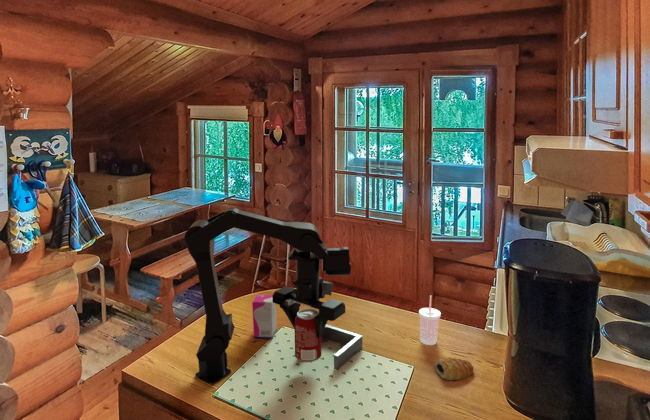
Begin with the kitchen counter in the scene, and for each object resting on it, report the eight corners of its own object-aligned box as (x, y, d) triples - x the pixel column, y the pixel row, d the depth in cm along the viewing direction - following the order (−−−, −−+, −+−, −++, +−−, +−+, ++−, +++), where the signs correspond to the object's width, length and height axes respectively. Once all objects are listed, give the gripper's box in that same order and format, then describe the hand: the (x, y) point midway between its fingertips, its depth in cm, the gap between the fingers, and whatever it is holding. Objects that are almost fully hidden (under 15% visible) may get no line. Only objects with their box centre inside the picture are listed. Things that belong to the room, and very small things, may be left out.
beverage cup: (441, 338, 128) (444, 293, 125) (436, 348, 123) (439, 302, 120) (420, 333, 131) (422, 290, 128) (414, 343, 126) (417, 297, 123)
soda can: (318, 365, 108) (318, 321, 105) (291, 362, 109) (291, 318, 107) (323, 351, 115) (323, 308, 112) (298, 348, 116) (298, 306, 113)
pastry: (464, 363, 116) (465, 350, 115) (479, 378, 110) (480, 364, 109) (432, 368, 114) (432, 355, 113) (445, 384, 107) (446, 370, 106)
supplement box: (276, 329, 134) (275, 294, 131) (272, 339, 128) (271, 302, 126) (258, 328, 134) (256, 293, 132) (253, 338, 129) (251, 302, 126)
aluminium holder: (337, 370, 113) (337, 356, 112) (299, 355, 119) (299, 342, 118) (362, 348, 123) (362, 335, 122) (325, 336, 130) (325, 323, 129)
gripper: (357, 273, 109) (356, 331, 112) (297, 259, 119) (298, 312, 122) (332, 288, 100) (332, 350, 103) (270, 271, 110) (271, 328, 113)
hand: (308, 333), depth 111 cm, fingers closed on soda can, 7 cm apart
